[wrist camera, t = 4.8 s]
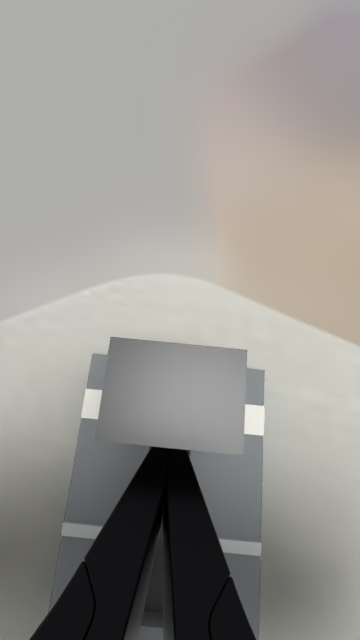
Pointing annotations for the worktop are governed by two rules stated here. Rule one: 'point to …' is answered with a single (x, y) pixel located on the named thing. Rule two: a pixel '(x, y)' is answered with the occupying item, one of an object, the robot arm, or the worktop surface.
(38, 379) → the worktop surface
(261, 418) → the fader console
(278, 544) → the worktop surface
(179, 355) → the fader tab
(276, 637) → the worktop surface
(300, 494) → the worktop surface
